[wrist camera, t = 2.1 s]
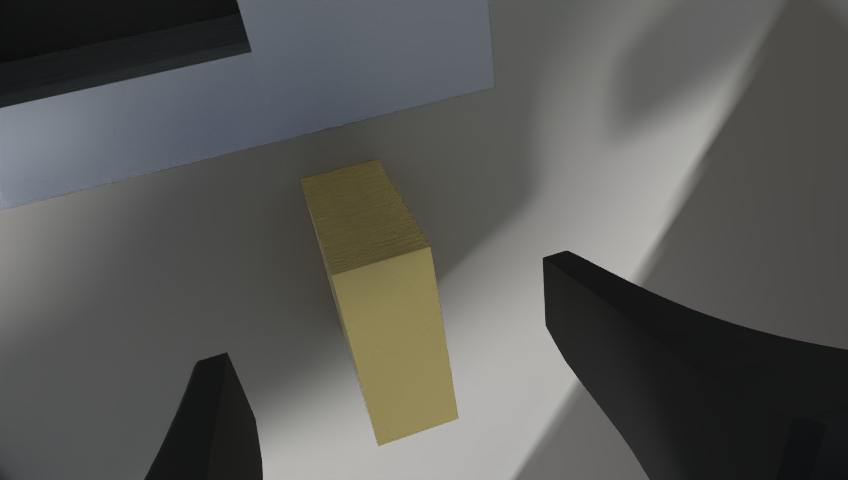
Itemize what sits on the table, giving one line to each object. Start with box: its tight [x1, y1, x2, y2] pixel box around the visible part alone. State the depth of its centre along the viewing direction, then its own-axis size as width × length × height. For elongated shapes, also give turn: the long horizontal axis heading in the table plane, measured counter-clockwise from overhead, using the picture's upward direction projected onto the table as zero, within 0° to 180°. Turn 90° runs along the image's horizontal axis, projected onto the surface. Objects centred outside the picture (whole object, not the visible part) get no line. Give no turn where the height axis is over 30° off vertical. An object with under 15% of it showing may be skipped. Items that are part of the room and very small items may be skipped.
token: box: [301, 159, 459, 446], centre depth 15 cm, size 2×5×4 cm, turn 6°
